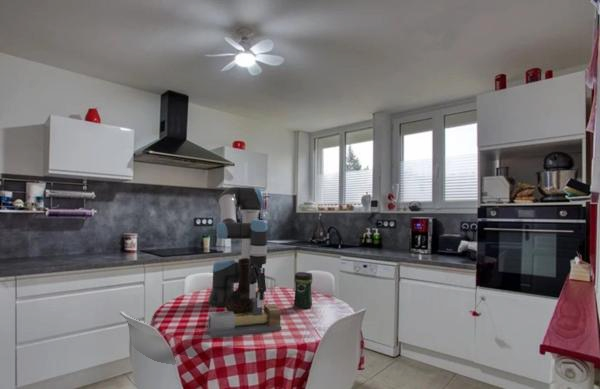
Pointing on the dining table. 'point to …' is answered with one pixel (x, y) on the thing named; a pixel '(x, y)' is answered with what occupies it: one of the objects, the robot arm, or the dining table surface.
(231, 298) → the glass bottle
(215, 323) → the steel sleeve
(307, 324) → the dining table surface
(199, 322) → the dining table surface
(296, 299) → the coffee jar
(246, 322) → the tan slab
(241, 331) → the base board
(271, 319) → the walnut socket
